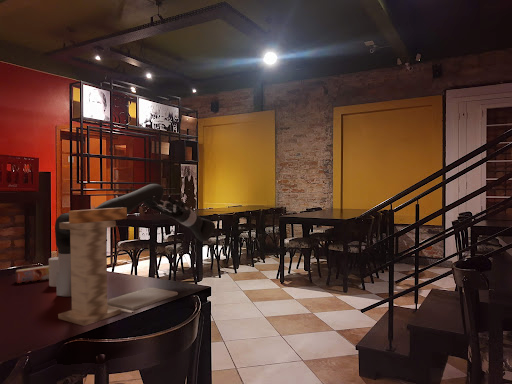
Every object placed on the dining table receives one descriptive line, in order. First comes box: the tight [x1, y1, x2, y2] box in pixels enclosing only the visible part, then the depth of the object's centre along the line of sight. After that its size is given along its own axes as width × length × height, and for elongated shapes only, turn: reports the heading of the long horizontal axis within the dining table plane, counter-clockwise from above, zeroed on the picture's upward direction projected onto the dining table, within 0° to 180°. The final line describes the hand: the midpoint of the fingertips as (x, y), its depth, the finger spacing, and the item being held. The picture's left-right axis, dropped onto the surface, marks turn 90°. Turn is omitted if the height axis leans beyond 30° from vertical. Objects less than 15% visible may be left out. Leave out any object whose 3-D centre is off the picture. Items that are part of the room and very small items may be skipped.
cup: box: [48, 256, 58, 288], centre depth 176 cm, size 8×8×12 cm
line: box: [107, 305, 135, 314], centre depth 139 cm, size 2×20×1 cm, turn 58°
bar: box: [68, 208, 128, 223], centre depth 135 cm, size 20×4×4 cm, turn 148°
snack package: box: [14, 264, 49, 284], centre depth 186 cm, size 21×7×7 cm, turn 126°
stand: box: [57, 220, 122, 327], centre depth 131 cm, size 14×14×32 cm
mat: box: [107, 286, 179, 311], centre depth 150 cm, size 23×16×1 cm
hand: (160, 198), depth 160 cm, fingers open, 8 cm apart
